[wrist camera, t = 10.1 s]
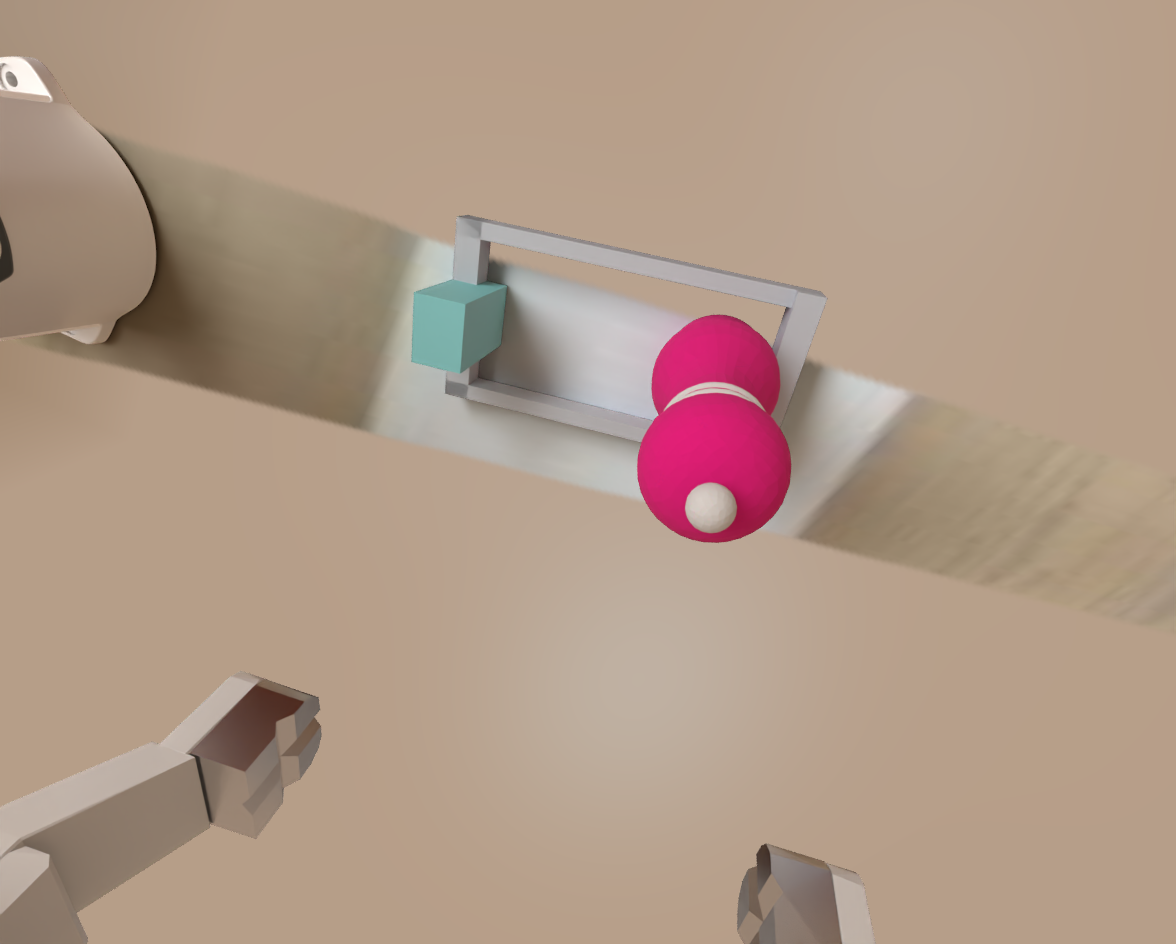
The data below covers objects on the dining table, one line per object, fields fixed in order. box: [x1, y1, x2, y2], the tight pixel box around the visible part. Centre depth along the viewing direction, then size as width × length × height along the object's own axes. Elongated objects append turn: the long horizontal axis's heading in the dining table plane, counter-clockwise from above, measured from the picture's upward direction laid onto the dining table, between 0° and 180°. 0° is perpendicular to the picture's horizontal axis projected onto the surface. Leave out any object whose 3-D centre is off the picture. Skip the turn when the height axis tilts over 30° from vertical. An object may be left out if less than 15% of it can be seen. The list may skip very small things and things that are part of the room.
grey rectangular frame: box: [412, 215, 827, 442], centre depth 35 cm, size 22×11×7 cm, turn 80°
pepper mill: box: [637, 315, 791, 543], centre depth 28 cm, size 7×7×20 cm
